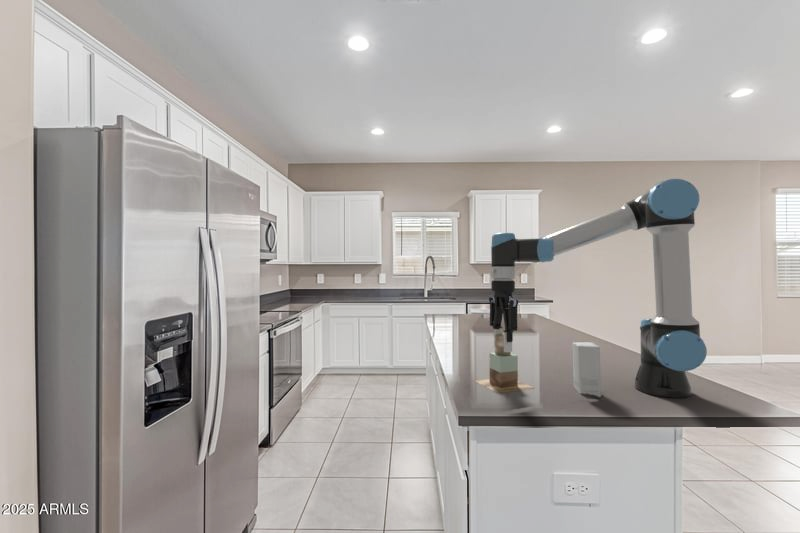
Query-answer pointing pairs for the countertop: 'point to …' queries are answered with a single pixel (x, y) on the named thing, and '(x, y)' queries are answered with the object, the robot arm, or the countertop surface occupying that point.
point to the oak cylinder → (500, 345)
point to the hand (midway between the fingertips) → (502, 349)
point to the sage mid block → (504, 362)
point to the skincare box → (586, 368)
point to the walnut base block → (503, 378)
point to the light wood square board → (499, 390)
